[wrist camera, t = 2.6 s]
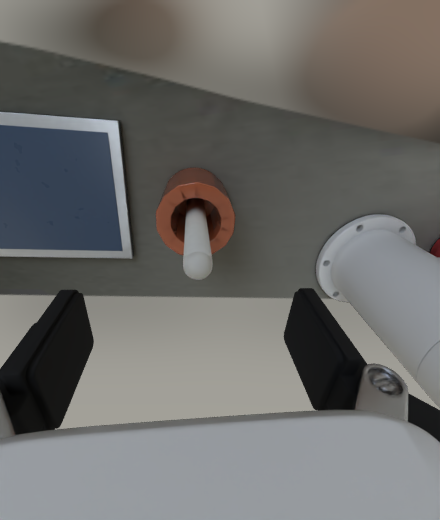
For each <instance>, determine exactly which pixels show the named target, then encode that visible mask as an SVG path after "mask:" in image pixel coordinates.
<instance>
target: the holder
mask: <svg viewBox="0 0 440 520" xmlns="http://www.w3.org/2000/svg"><path fill="white" fill-rule="evenodd" d="M191 198H200V199H203V201H204V206H205V213H206V220H207V227H208V234H209V241H210V247H211V254H213V253H215V252H216V251H218V250H219V249H221V248H223V247H224V246H225V245H226V244H227V242H228V241H229V239H230V237H231V236H232V234H233V232H234V225H235V213H234V210H233V208H232V205H231V203H230V200H229V198H228V196H227V193H226V191H225V189H224V187H223V185H222V182H221V181H220V180H219V179H218V178H217V177H216V176H215V175H214V174H212V173H211V172H209V171H207V170H205V169H201V168H187V169H183V170H181V171H179V172H178V173H176V174H175V175H174V176H173V177H172V178H170V180H169V181H168V183H167V185H166V188H165V190H164V192H163V195H162V197H161V200H160V203H159V206H158V208H157V211H156V225H157V231H158V233H159V235H160V236H161V238H162V240H163V242H164V243H165V245H166V246H168V247H169V248H171V249H172V250H173V251H175V252H176V253H178V254H180V255H184V239H185V221H186V203H187V199H191Z"/></svg>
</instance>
